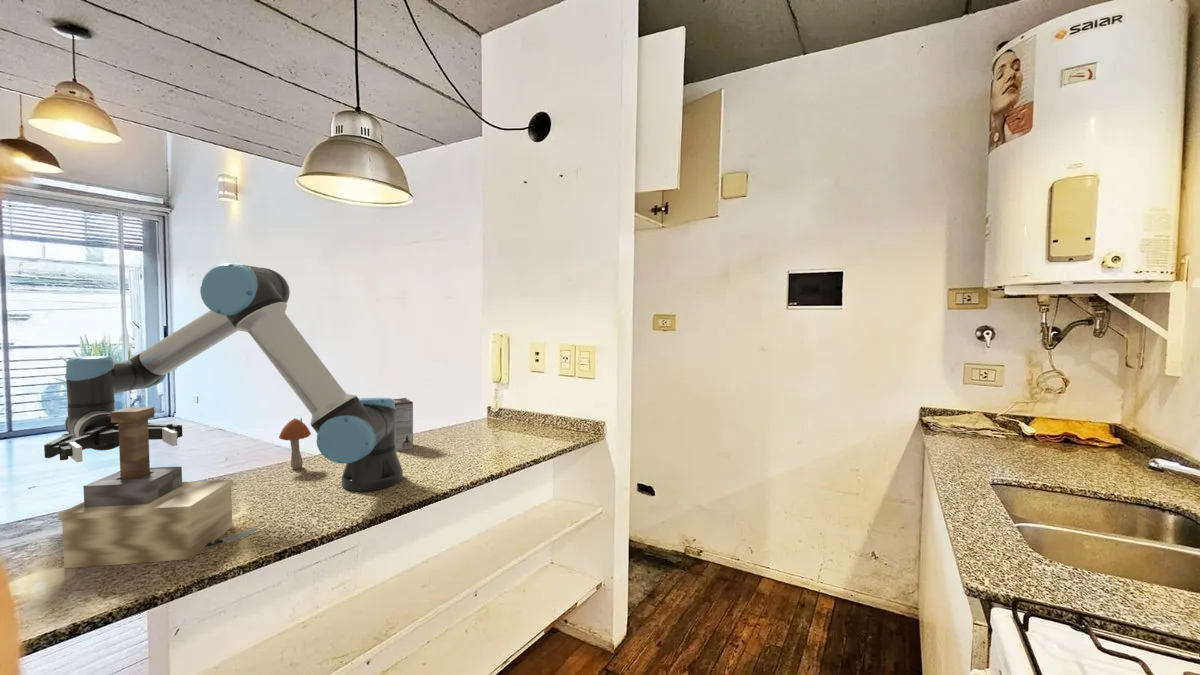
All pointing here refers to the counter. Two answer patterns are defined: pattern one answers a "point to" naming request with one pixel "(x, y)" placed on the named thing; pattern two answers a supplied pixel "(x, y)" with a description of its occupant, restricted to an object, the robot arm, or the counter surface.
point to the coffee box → (403, 424)
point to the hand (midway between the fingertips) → (129, 446)
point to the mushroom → (295, 439)
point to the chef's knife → (233, 537)
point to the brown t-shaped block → (133, 441)
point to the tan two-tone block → (145, 519)
